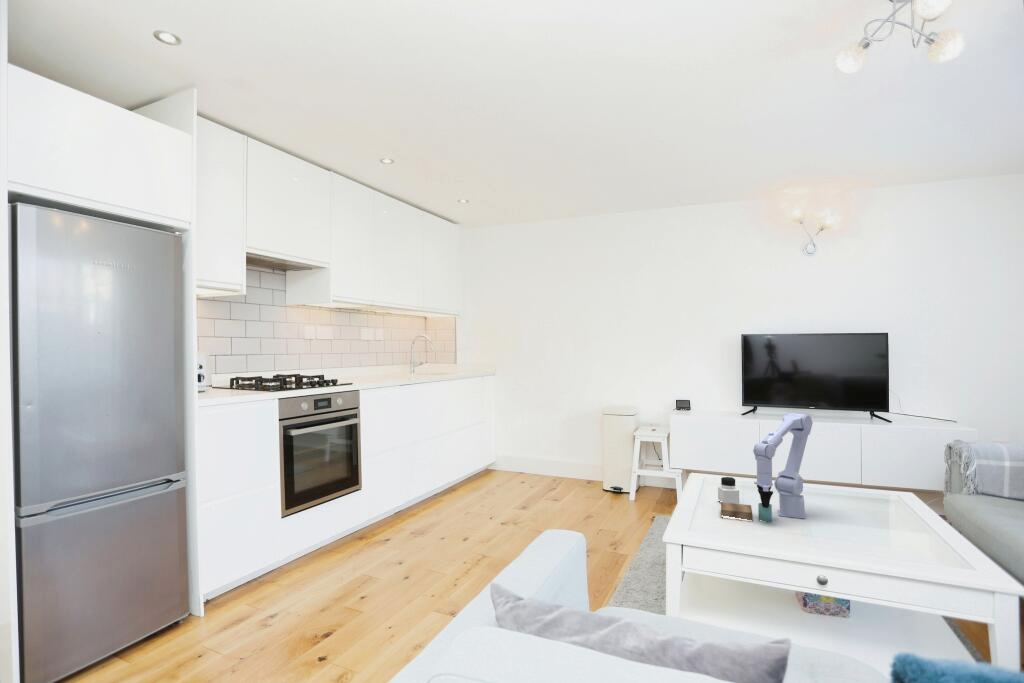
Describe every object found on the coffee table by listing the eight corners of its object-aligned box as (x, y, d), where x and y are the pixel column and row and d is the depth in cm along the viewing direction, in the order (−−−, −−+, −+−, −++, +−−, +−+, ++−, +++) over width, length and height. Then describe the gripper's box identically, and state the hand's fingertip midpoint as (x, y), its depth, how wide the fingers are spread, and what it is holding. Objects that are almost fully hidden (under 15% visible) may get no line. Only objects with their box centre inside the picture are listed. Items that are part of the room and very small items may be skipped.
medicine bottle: (739, 505, 235) (739, 479, 236) (723, 505, 235) (723, 479, 236) (733, 501, 242) (732, 475, 243) (717, 501, 242) (717, 475, 243)
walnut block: (751, 514, 223) (750, 505, 223) (752, 522, 212) (752, 512, 212) (721, 511, 228) (721, 502, 228) (721, 519, 217) (721, 509, 217)
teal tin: (771, 519, 215) (771, 503, 216) (772, 522, 211) (772, 506, 211) (758, 517, 217) (758, 502, 217) (758, 521, 213) (758, 505, 213)
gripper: (753, 468, 223) (753, 499, 222) (754, 474, 210) (755, 508, 209) (771, 469, 220) (771, 501, 220) (774, 476, 207) (774, 510, 206)
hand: (764, 505), depth 214 cm, fingers open, 7 cm apart
